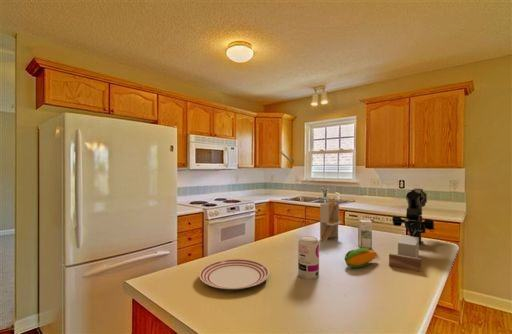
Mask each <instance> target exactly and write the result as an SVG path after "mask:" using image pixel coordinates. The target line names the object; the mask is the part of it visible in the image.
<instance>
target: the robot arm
mask: <svg viewBox="0 0 512 334" xmlns="http://www.w3.org/2000/svg"><path fill="white" fill-rule="evenodd" d="M405 199H406V201H407V202H406V203H407V205H408V206H407V208H406V215H405V218H402V216H401V215H392V219H391V220H392V225H393V226H396V227H401V226H402V224H404V228H405V229H406V232H408V233H409V236H412V237H419V245H422V244H423V243H424V241H422V234H426V231H427V230H431V231H433V230H435V221H434V219H431V218H424V219H423V216H422V215H423V207H425V206H426V204H427V202H428V196H427V193H426V192H424V189H423V188H413V189H411V190H410V191H408V192H407V193H406V196H405Z"/></svg>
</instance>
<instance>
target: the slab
mask: <svg viewBox="0 0 512 334" xmlns="http://www.w3.org/2000/svg"><path fill="white" fill-rule="evenodd" d="M397 254H398V255H404V256H410V257H416V258H420V257H419V255H420V244H419V237H412V236H410V235H402V236H401V237H400V239H399V240H398V242H397Z"/></svg>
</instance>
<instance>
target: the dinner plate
mask: <svg viewBox="0 0 512 334" xmlns="http://www.w3.org/2000/svg"><path fill="white" fill-rule="evenodd" d="M269 276H270V270H269V268H268V266H266V265H265V264H263V263H261V262H259V261H257V260H252V259H245V258H230V259H222V260H218V261H215V262H212V263H209V264H207V265H205V266H204V267H203V268H202V269H201V270H200V272H199V275H198V277H199V279H200V281H201V282H202V283H203V284H205V285H207V286H210V287H212V288H216V289H220V290H243V289H247V288H252V287H255V286H258V285H260V284H262V283H263V282H265V281H266V280H267V279H268V278H269Z"/></svg>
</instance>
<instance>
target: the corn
mask: <svg viewBox="0 0 512 334" xmlns="http://www.w3.org/2000/svg"><path fill="white" fill-rule="evenodd" d="M377 256H378V254H377V252H376V251H375V250H372V249H371V250H370V248H361V247H360V248H357V249H351V250H348V252H346V253H345V255H344V262H345V264H346V266H347V267H350V268H353V269H357V268H362V267H366V266H368V265H370V264H371V263H372V261H373V260H374V259H376V258H377Z"/></svg>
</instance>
